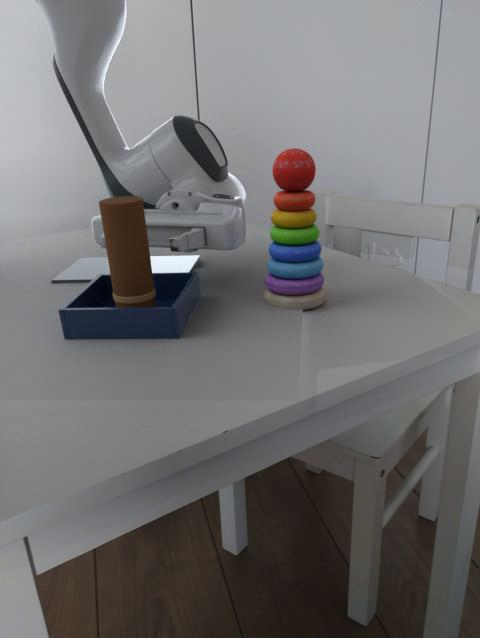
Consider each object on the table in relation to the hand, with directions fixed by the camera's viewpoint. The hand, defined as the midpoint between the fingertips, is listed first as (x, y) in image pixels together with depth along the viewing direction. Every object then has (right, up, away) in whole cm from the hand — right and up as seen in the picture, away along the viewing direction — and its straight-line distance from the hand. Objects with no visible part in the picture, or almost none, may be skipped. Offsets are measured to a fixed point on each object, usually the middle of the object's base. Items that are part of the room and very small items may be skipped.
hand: (139, 243), depth 68 cm
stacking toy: (+19, -7, +5) cm, 21 cm away
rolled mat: (0, -9, +1) cm, 9 cm away
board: (-6, -1, +20) cm, 21 cm away
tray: (0, -9, +1) cm, 9 cm away
